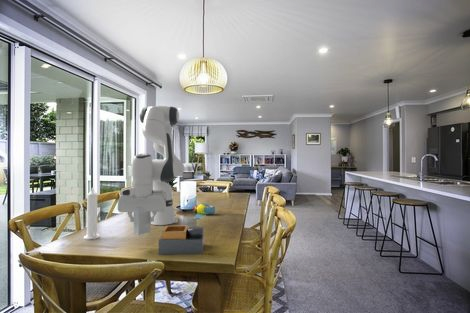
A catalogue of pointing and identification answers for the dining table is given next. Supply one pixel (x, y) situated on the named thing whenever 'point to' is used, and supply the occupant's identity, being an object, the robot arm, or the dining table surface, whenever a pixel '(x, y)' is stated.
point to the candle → (91, 216)
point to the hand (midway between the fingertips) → (142, 221)
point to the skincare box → (141, 221)
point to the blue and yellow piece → (203, 210)
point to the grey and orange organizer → (181, 240)
